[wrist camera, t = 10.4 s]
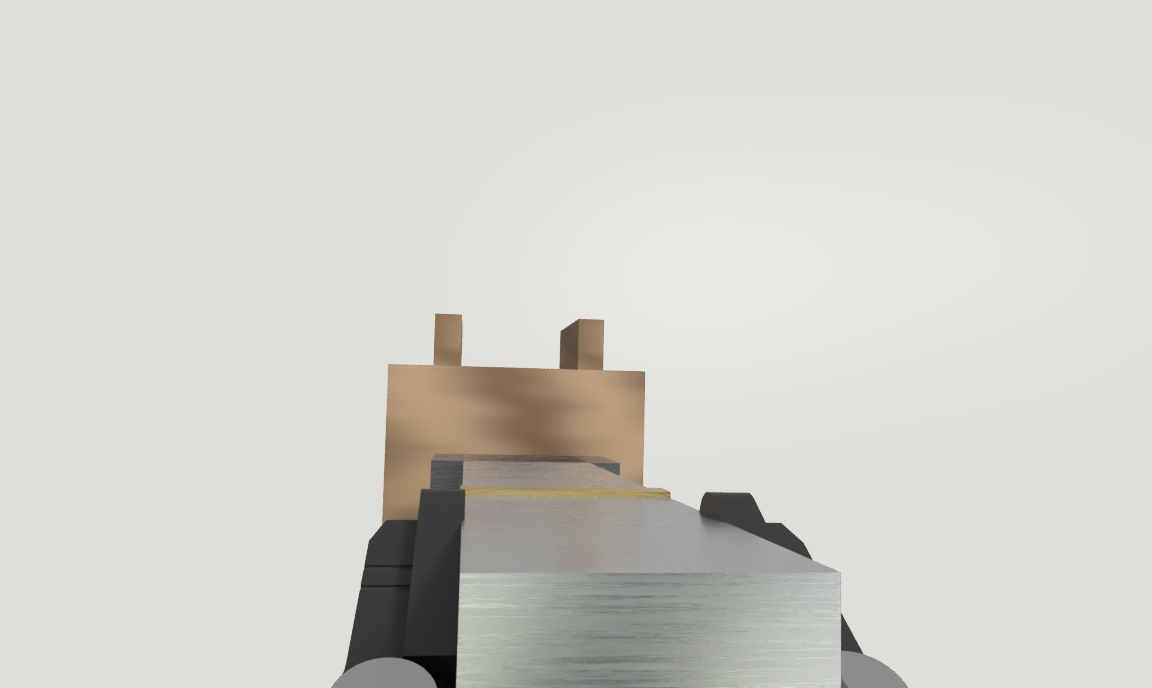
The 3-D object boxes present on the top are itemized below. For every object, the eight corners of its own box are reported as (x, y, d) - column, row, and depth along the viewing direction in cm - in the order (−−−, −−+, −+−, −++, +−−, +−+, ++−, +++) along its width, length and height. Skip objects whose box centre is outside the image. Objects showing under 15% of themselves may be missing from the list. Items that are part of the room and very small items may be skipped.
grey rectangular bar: (431, 566, 30) (435, 450, 30) (597, 566, 30) (600, 453, 31) (338, 1005, 8) (358, 562, 8) (932, 966, 9) (928, 563, 9)
